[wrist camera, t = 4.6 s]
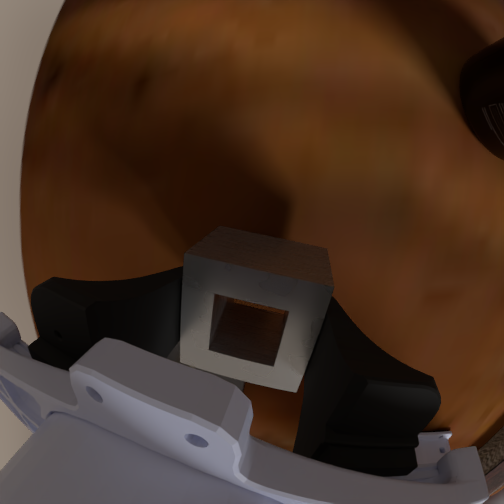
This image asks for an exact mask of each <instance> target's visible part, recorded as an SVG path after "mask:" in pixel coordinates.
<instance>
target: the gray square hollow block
mask: <svg viewBox="0 0 504 504" xmlns="http://www.w3.org/2000/svg"><path fill="white" fill-rule="evenodd" d="M333 289H334V283H333V277H332V271H331V266H330V261H329V256H328V251H327V248H322V247H318V246H313V245H309V244H304V243H300V242H295V241H290V240H286V239H281V238H277V237H272V236H267V235H262V234H258V233H253V232H248V231H243V230H239V229H234V228H229V227H224V226H219V227H217V228H216V229H215V230H214V231H212V232H211V233H210V234H208V235H207V236H206V237H204V238H203V239H202V240H200V241H199V242H198V243H197V244H195V245H194V246H193V247H191V248H190V249H189V250H188V251H186V252H185V253H184V264H183V280H182V300H181V329H180V362H181V363H184V364H187V365H190V366H193V367H196V368H199V369H202V370H206V371H209V372H212V373H216V374H219V375H223V376H226V377H230V378H234V379H237V380H241V381H245V382H249V383H253V384H258V385H262V386H266V387H271V388H275V389H280V390H285V391H290V392H295V393H296V392H297V389H298V387H299V385H300V382H301V380H302V377H303V375H304V372H305V370H306V367H307V364H308V362H309V359H310V357H311V354H312V351H313V349H314V346H315V343H316V340H317V337H318V335H319V332H320V329H321V326H322V323H323V320H324V317H325V314H326V311H327V308H328V305H329V302H330V299H331V296H332V293H333ZM234 298H235V299H239V300H243V301H247V302H252V303H256V304H260V305H264V306H269V307H273V308H277V309H282V310H285V312H284V314H280V313H276V312H272V311H267V310H263V309H259V308H254V307H250V306H246V305H242V304H238V303H234Z"/></svg>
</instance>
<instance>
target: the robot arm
mask: <svg viewBox="0 0 504 504" xmlns="http://www.w3.org/2000/svg"><path fill="white" fill-rule="evenodd" d="M182 280H183V266H182V267H178V268H174V269H171V270H167V271H164V272H160V273H156V274H152V275H148V276H144V277H139V278H133V279H126V280H115V281H81V280H72V279H65V278H58V277H52V278H50V279H48V280H47V281H45V282H43V283H41V284H40V285H38V286H36V287H35V288H34V289H33V291H32V294H31V306H32V311H33V315H34V318H35V322H36V325H37V329H38V332H39V335H40V337H39V338H38V339H37V340H35V341H34V342H33V343H31V344H30V345H29V346H28V345H27V344H26V343H25V342H23V341H22V340H21V336H20V333H19V330H18V328H17V326H16V324H15V323H14V322H13V321H12V320H11V319H10V318H9V317H8V316H6V315H5V314H4V313H3V312H0V399H1V400H2V401H3V402H4V403H5V404H6V405H7V407H8V408H9V409H10V410H11V411H12V412H13V413H14V414H15V415H16V416H17V418H18V419H19V420H21V422H22V423H23V424H24V425H25V426H26V427H27V428H28V429H29V430H30V431H31V432H32V433H33V434H32V435H31V437H30V438H29V439H28V440H27V441H26V442H25V444H23V446H22V447H21V448H20V449H19V450H18V451H17V452H16V454H15V455H14V456H13V457H12V458H11V459H10V460H9V462H8V463H7V464H6V465H5V466H4V468H3V469H2V470H1V471H0V504H482V503H483V502H485V501H486V500H487V499H488V498H489V493H488V489H487V484H486V480H485V476H484V472H483V469H482V465H481V461H480V458H479V455H478V451H477V448H476V446H471V447H465V448H459V449H454V450H452V451H451V449H450V446H449V442H448V439H449V438H450V437H451V435H452V432H451V431H443V432H425V433H420V432H421V431H422V430H423V429H424V428H425V427H426V426H427V425H428V423H429V422H430V421H431V420H432V419H433V417H434V416H435V414H436V413H437V411H438V410H439V407H440V404H441V396H440V393H439V391H438V388H437V385H436V383H435V380H434V378H433V377H432V376H429V375H427V374H425V373H422V372H420V371H418V370H415V369H413V368H411V367H409V366H407V365H406V364H404V363H402V362H400V361H398V360H397V359H395V358H394V357H392V356H391V355H389V354H388V353H386V352H385V351H383V350H382V349H381V348H379V347H378V346H377V345H376V344H375V343H373V342H372V341H371V340H370V339H369V338H368V337H367V336H366V335H365V334H364V333H363V332H362V331H361V330H360V329H359V328H358V327H357V326H356V325H355V324H354V322H353V321H352V320H351V319H350V318H349V316H348V315H347V314H346V313H345V311H344V310H343V309H342V307H341V306H340V305H339V303H338V302H337V301H336V299H335V298H334V297H332V296H331V299H330V302H329V305H328V308H327V311H326V314H325V317H324V320H323V323H322V326H321V329H320V332H319V335H318V337H317V340H316V343H315V346H314V349H313V351H312V354H311V357H310V359H309V362H308V364H307V367H306V370H305V376H304V397H303V404H302V410H301V415H300V421H299V426H298V431H297V436H296V440H295V444H294V449H293V452H290V451H287V450H285V449H282V448H279V447H277V446H274V445H272V444H269V443H267V442H264V441H262V440H260V439H257V438H255V437H253V436H250V435H249V429H250V425H251V422H252V419H253V410H252V404H251V401H250V400H249V399H248V398H247V397H246V396H245V395H244V394H243V393H242V391H241V390H240V389H239V388H238V387H237V386H236V385H234V384H232V383H230V382H228V381H226V380H224V379H222V378H220V377H218V376H216V375H213V374H210V373H207V372H204V371H201V370H198V369H195V368H192V367H189V366H186V365H183V364H180V363H177V362H174V361H171V360H169V359H166V358H167V357H168V355H169V354H170V352H171V351H172V350H173V348H174V347H175V346H176V345H177V343H178V342H179V341H180V329H181V300H182Z"/></svg>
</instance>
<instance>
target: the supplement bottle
mask: <svg viewBox="0 0 504 504" xmlns="http://www.w3.org/2000/svg"><path fill="white" fill-rule="evenodd" d="M460 94H461V100H462V104H463V108H464V111H465V114H466V116H467V119H468V121H469V123H470V125H471V127H472V129H473V131H474V132H475V134H476V136H477V137H478V139H479V140H480V141H481V142H482V144H483V145H484V146H485V147H486V148H487V149H488V150H489V151H490V152H491V153H492V154H494V155H495V156H496V157H498V158H500V159H502V160H504V37H503V38H502V39H500V40H498V41H496V42H495V43H493V44H491V45H489V46H488V47H486V48H484V49H483V50H481V51H479V52H478V53H476V54H475V55H473V56H472V57H470V58H469V59H468V60H467V61H466V63H465V64H464V66H463V69H462V72H461V76H460Z"/></svg>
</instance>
